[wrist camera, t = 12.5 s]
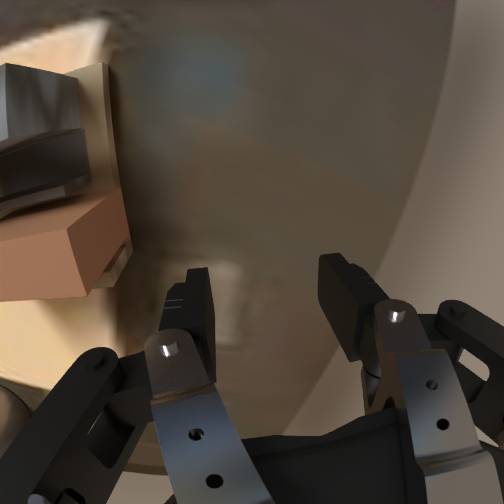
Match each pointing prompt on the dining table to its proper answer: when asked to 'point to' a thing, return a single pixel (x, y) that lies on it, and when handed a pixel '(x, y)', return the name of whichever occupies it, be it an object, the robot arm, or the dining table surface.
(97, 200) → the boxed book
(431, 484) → the robot arm
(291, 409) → the dining table surface
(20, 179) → the shelf
